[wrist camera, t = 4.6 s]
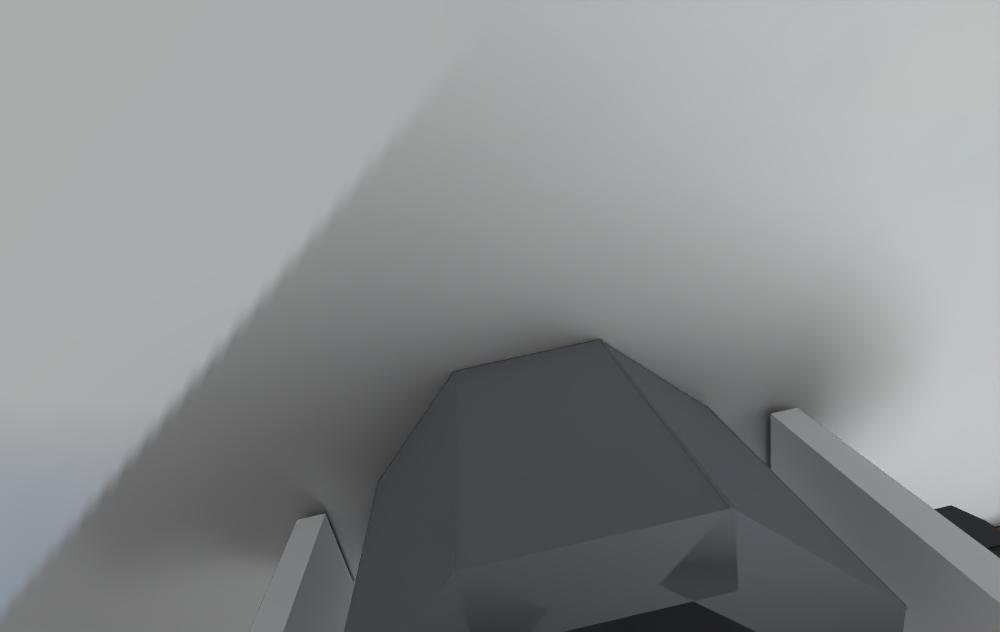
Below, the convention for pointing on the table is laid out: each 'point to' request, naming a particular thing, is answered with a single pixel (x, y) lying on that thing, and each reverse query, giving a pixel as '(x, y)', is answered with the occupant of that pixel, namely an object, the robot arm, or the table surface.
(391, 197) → the table surface
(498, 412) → the ring
